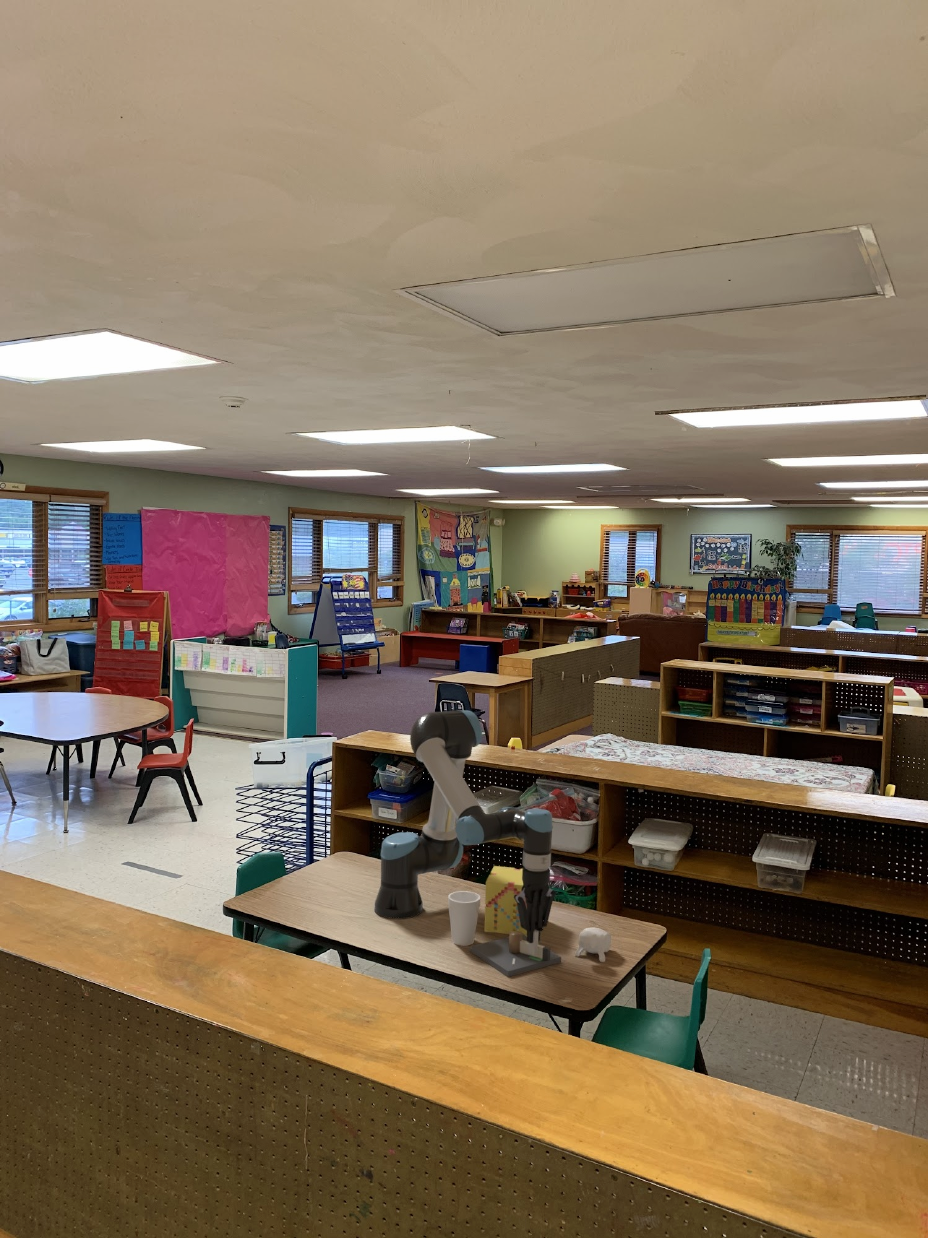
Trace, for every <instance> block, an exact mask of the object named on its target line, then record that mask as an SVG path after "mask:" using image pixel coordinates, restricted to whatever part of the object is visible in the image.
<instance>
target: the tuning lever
mask: <svg viewBox="0 0 928 1238" xmlns="http://www.w3.org/2000/svg"><path fill="white" fill-rule="evenodd" d="M508 935H509V936H508V937H509V951H510V952H512V953H520V952H521V953H524V954H528V955H531V956H533V955H532V954H530V953H528V942H527V941H524V940H522V932H520V931H511V932H510V933H509V934H508ZM541 945H542V944H540V945H538V955H536V956H534V957H538V958H541V959H543V960H547V961H548V960H549V959H550V950H551V947H549V946H545V945H542V946H541Z"/></svg>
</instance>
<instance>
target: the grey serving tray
mask: <svg viewBox="0 0 928 1238" xmlns="http://www.w3.org/2000/svg"><path fill="white" fill-rule="evenodd" d="M522 940H524V941H527V936H525V935H524V934H522ZM538 945H541V946H543V944H540V943H539V942H538ZM470 952H471V953H472V954H473V955H475V956H477V957H478V958H479V959H481V960H482V961H484V962H486V963H487V964H488V965H490V966H491V967H493V968H494V969H495V970H497V971H499V973H501V974H503V975H504V976H506V977H507V978H508V977H513V976H516V975H519V974H523V973H527V972H530V971H534V970H538V969H541V968H542V969H543V968H545V967H548V966H554V965H556V964H559V963H561V962H562V956H561V955H560V954H558V953H555V952H554V951H552V950H551V949H550V959H549V960H548V961H547V960H543V959H541V958H538V957H534V956H531V955H528V954H524V953H521V952H520V953H512V952H510V951H509V936H507V937H503V938H502V937H501V938H499V939H495V940H491V941H490V940H489V941H487V942H482V943H479V944H478V943H477V944H475V945H470Z"/></svg>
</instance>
